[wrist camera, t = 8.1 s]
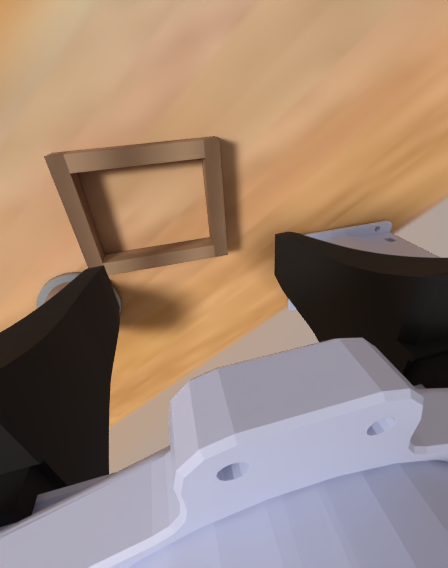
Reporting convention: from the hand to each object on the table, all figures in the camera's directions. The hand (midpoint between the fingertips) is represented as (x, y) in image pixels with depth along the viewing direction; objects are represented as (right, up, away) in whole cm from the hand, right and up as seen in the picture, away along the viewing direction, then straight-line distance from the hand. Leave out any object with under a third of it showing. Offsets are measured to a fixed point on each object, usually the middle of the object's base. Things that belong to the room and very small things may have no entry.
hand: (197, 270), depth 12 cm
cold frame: (-4, +5, +8) cm, 10 cm away
